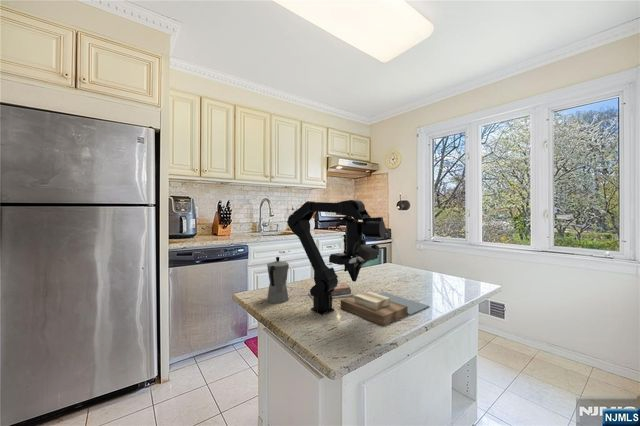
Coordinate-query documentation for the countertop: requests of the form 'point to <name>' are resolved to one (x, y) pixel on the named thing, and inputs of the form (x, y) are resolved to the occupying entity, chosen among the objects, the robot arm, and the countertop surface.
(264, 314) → the countertop surface
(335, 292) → the packaged product
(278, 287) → the coffeepot
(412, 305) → the mat
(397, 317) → the block
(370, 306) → the cream flat block
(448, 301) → the countertop surface
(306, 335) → the countertop surface
